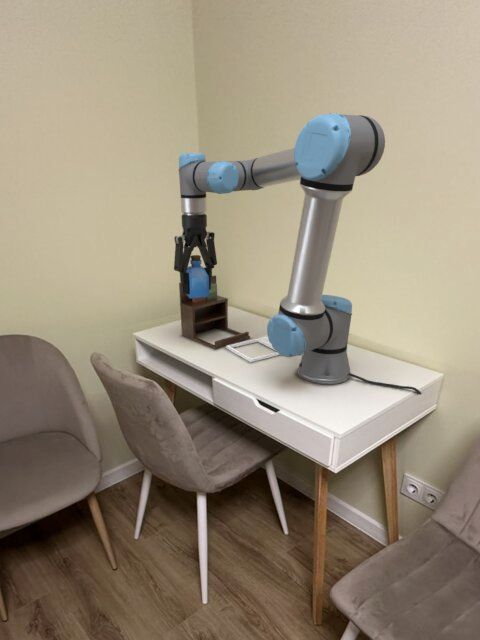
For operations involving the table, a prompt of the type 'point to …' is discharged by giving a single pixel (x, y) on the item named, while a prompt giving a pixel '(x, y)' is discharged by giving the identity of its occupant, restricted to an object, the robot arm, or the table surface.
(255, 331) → the table surface
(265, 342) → the photo frame
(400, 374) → the table surface
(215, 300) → the desk rack
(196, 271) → the perfume bottle
